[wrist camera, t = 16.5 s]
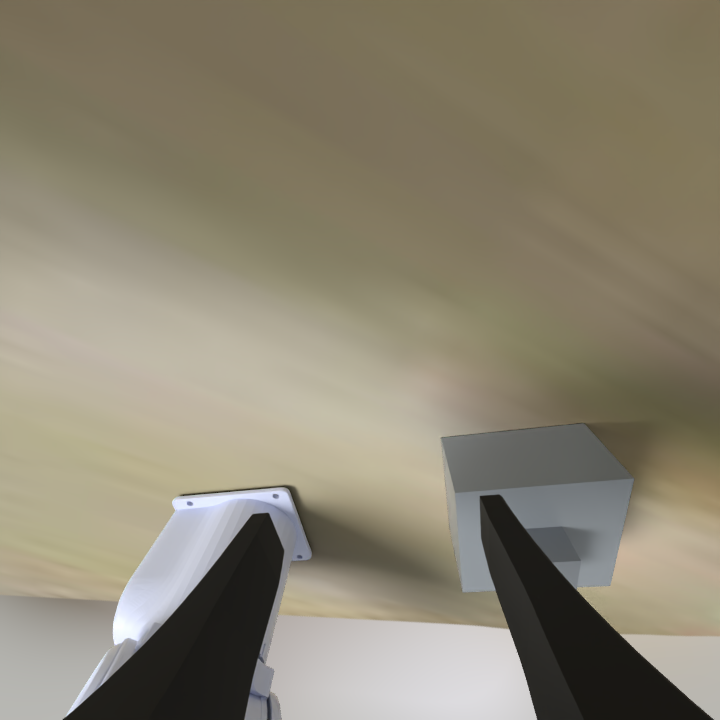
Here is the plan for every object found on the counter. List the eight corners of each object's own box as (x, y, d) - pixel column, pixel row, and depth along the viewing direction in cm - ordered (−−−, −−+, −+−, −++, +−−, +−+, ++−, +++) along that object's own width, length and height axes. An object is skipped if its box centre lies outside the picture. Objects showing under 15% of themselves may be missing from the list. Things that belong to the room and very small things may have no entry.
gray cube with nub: (449, 528, 26) (469, 627, 20) (441, 437, 22) (463, 525, 16) (571, 520, 25) (632, 622, 19) (584, 423, 21) (664, 511, 15)
